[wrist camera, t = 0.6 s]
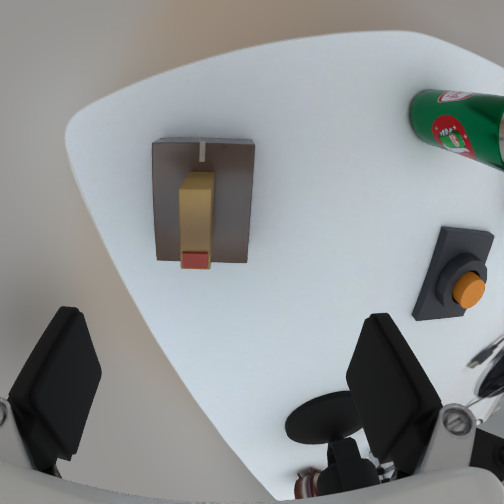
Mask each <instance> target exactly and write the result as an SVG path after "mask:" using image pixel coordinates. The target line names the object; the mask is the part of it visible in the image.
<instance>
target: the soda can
mask: <svg viewBox="0 0 504 504" xmlns="http://www.w3.org/2000/svg"><path fill="white" fill-rule="evenodd" d="M411 121H412V125H413V128H414V131H415V132H416V134H417V136H418V137H419V138H420V139H421V140H422V141H423V142H425V143H427V144H429V145H433V146H436V147H439V148H442V149H445V150H448V151H450V152H453V153H456V154H459V155H462V156H464V157H467V158H470V159H473V160H475V161H478V162H480V163H483V164H485V165H488V166H490V167H493V168H495V169H497V170H500V171H502V172H504V96H498V95H491V94H483V93H474V92H463V91H450V90H433V89H430V90H425V91H423V92H421V93H420V94H419V95H418V96H417V97H416V98H415V100H414V102H413V104H412V108H411Z"/></svg>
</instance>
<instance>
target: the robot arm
mask: <svg viewBox="0 0 504 504" xmlns="http://www.w3.org/2000/svg"><path fill="white" fill-rule="evenodd" d="M101 373H102V372H101V366H100V364H99V361H98V358H97V355H96V352H95V349H94V346H93V343H92V341H91V337H90V334H89V331H88V328H87V324H86V321H85V318H84V315H83V313H81V312H79V310H78V308H76V307H65V306H62V307H60V308H59V310H58V311H57V313H56V314H55V316H54V318H53V319H52V320H51V322H50V324H49V325H48V327H47V328H46V330H45V331H44V333H43V335H42V336H41V338H40V339H39V341H38V343H37V344H36V346H35V348H34V349H33V351H32V353H31V354H30V356H29V358H28V360H27V361H26V363H25V365H24V367H23V368H22V370H21V372H20V374H19V376H18V377H17V379H16V381H15V383H14V385H13V387H12V388H11V390H10V392H9V394H8V395H9V397H8V399H7V400H6V399H4V398H2V397H0V504H504V439H503V438H500V437H498V436H495V435H493V434H490V433H488V432H485V431H483V430H481V429H478V428H476V420H475V417H474V415H473V413H472V412H471V411H470V410H469V409H468V408H467V407H465V406H463V405H461V404H456V403H452V404H448V405H445V406H444V407H443V405H442V403H441V399H440V398H439V396H438V394H437V392H436V390H435V389H434V387H433V385H432V383H431V382H430V380H429V378H428V377H427V375H426V373H425V371H424V370H423V368H422V366H421V365H420V363H419V361H418V360H417V358H416V356H415V355H414V353H413V351H412V350H411V348H410V347H409V345H408V343H407V342H406V340H405V339H404V337H403V335H402V334H401V332H400V331H399V329H398V327H397V326H396V324H395V323H394V321H393V320H392V318H391V317H390V315H389V314H388V313H375V314H371V315H370V316H369V318H366V319H365V321H364V324H363V327H362V330H361V333H360V336H359V339H358V342H357V345H356V348H355V351H354V353H353V356H352V359H351V362H350V364H349V367H348V370H347V373H346V381H347V384H348V387H349V389H350V392H351V395H352V398H353V400H354V403H355V406H356V409H357V412H358V415H359V417H360V420H361V423H362V426H363V429H364V432H365V435H366V438H367V440H368V443H369V446H370V449H371V452H372V455H373V457H374V458H378V461H379V464H380V465H381V464H385V463H389V462H393V464H394V467H395V470H394V472H393V474H392V476H391V478H390V480H389V482H387V483H383V484H379V485H375V486H371V487H366V488H362V489H357V490H353V491H348V492H343V493H337V494H331V495H325V496H319V497H312V498H304V499H295V500H285V501H273V502H256V503H204V502H188V501H187V502H186V501H174V500H166V499H157V498H149V497H142V496H136V495H129V494H124V493H119V492H114V491H109V490H104V489H100V488H96V487H91V486H87V485H83V484H79V483H75V482H72V481H68V480H64V479H62V477H61V475H60V473H59V471H58V469H57V466H56V461H57V458H60V459H64V460H67V461H71V457H72V454H76V452H77V450H78V447H79V443H80V440H81V437H82V433H83V430H84V427H85V423H86V420H87V417H88V414H89V411H90V408H91V405H92V402H93V399H94V396H95V393H96V390H97V388H98V384H99V382H100V379H101V375H102V374H101Z"/></svg>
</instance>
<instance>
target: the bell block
mask: <svg viewBox="0 0 504 504" xmlns="http://www.w3.org/2000/svg"><path fill="white" fill-rule="evenodd" d="M493 239H494V235H493V234H491V233H490V232H486V231H478V230H469V229H460V228H450V227H442V228H441V231H440V235H439V238H438V242H437V245H436V248H435V251H434V255H433V258H432V261H431V264H430V267H429V270H428V273H427V276H426V278H425V281H424V284H423V287H422V290H421V292H420V295H419V298H418V300H417V303H416V305H415V308H414V310H413V313H412V316H413V317H414V319H415V320H416V321H422V320H432V319H442V318H451V317H459V316H463V315H464V313H465V311H466V309H467V308H463V307H462V306H461V305H460V304H459V303H458V302H457V301H456V300H455V299H454V297H453V289H454V286H455V284H456V283H457V281H458V280H459V279H460V278H461V276H462V275H464V274H465V273H467V272H474V273H475V274H476V275H477V276H478V277H479V278H480V279H482V280H483V282H484V284H485V283H486V281H487V268H486V266H485V263H486V260H487V257H488V254H489V251H490V248H491V246H492V243H493Z"/></svg>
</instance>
